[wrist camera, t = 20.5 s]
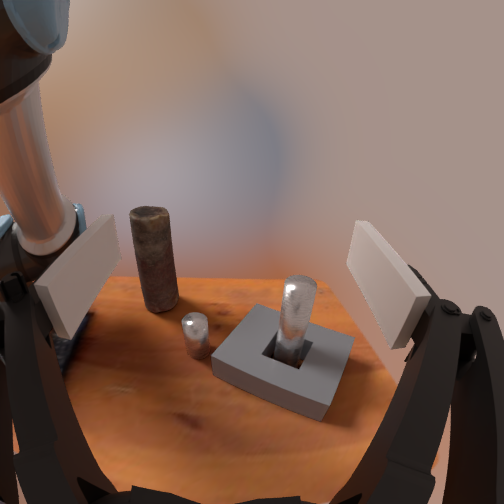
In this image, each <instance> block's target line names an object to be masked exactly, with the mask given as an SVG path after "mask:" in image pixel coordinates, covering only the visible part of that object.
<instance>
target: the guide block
mask: <svg viewBox="0 0 504 504" xmlns="http://www.w3.org/2000/svg"><path fill="white" fill-rule="evenodd" d="M280 313H281V312H279V311H276V310H273V309H271V308H268V307H265V306H263V305H260V304H256V305H255V306H254V307H253V308H252V309H251V311H250V312H249V313H248V314H247V315H246V316H245V318H244V319H243V320H242V321H241V322H240V323H239V324H238V326H237V327H236V328H235V329H234V330H233V331H232V332H231V334H230V335H229V336H228V337H227V338H226V339H225V340H224V341H223V343H222V344H221V345H220V346H219V347H218V348H217V349H216V350H215V352H214V353H213V354H212V355H211V361H212V371H213V375H214V376H216V377H218V378H220V379H222V380H224V381H226V382H228V383H230V384H232V385H234V386H236V387H238V388H240V389H242V390H244V391H247V392H249V393H251V394H253V395H255V396H257V397H260V398H262V399H264V400H266V401H269V402H271V403H273V404H276V405H278V406H281V407H283V408H286V409H288V410H291V411H293V412H296V413H298V414H301V415H303V416H306V417H309V418H312V419H314V420H317V421H320V422H321V420H322V419H323V417H324V415H325V413H326V412H327V410H328V408H329V406H330V404H331V402H332V399H333V397H334V394H335V392H336V389H337V387H338V384H339V382H340V379H341V376H342V374H343V371H344V368H345V365H346V362H347V360H348V357H349V354H350V351H351V348H352V345H353V342H354V339H355V337H352V336H349V335H345V334H342V333H339V332H336V331H333V330H330V329H327V328H324V327H321V326H319V325H316V324H313V323H310V322H309V324H308V328H307V332H306V336H305V340H304V344H303V348H302V352H301V355H300V359H301V360H304V361H303V363H302V365H301V367H300V369H296V368H294V367H291V366H289V365H286V364H284V363H281V362H279V361H276V360H274V359H271V358H270V357H271V355H272V354H273V352H274V351H275V346H276V339H277V333H278V326H279V320H280Z"/></svg>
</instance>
